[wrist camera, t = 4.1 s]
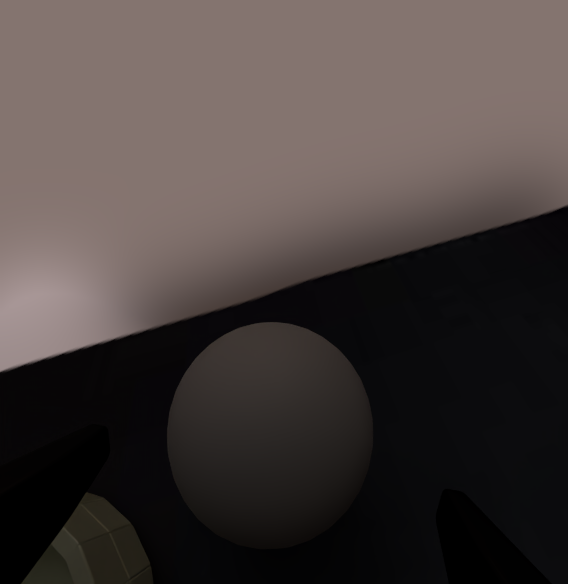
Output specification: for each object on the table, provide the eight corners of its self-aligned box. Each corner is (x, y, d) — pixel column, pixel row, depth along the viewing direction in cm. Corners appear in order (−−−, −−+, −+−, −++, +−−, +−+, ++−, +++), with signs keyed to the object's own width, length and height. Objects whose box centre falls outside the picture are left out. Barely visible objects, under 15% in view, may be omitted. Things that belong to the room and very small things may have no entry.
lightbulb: (287, 360, 18) (271, 249, 9) (364, 440, 16) (460, 410, 6) (207, 434, 16) (76, 397, 7) (280, 538, 14) (236, 707, 4)
